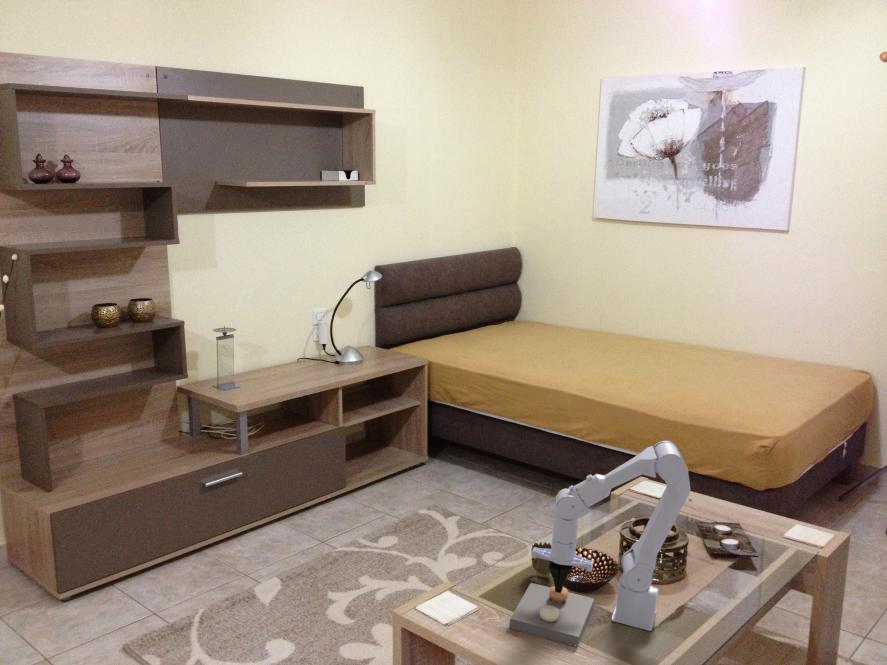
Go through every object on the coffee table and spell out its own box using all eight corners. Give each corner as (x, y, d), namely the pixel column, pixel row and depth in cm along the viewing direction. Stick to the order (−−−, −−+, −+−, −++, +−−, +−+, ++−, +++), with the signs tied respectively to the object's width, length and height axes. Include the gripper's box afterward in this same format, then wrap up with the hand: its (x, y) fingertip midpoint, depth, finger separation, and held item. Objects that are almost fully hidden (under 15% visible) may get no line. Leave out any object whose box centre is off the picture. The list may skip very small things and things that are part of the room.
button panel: (593, 607, 200) (594, 598, 199) (577, 646, 183) (578, 637, 183) (530, 591, 205) (531, 582, 205) (509, 628, 189) (510, 618, 188)
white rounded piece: (559, 623, 191) (561, 608, 190) (554, 633, 187) (556, 617, 186) (541, 618, 193) (542, 603, 192) (536, 628, 189) (538, 612, 188)
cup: (556, 585, 209) (559, 557, 207) (527, 581, 210) (530, 552, 209) (558, 571, 216) (561, 544, 214) (530, 567, 217) (533, 539, 216)
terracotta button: (568, 603, 199) (569, 588, 199) (564, 612, 195) (565, 597, 195) (550, 598, 201) (552, 584, 200) (546, 607, 197) (547, 592, 196)
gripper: (597, 538, 196) (591, 590, 199) (539, 525, 201) (534, 575, 204) (592, 551, 189) (585, 604, 192) (531, 537, 194) (526, 589, 197)
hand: (558, 590), depth 197 cm, fingers closed, pressing on terracotta button
